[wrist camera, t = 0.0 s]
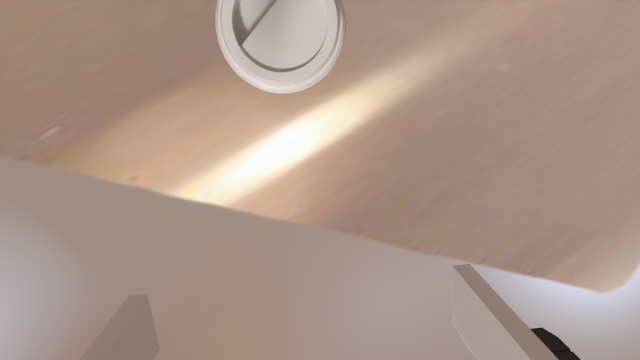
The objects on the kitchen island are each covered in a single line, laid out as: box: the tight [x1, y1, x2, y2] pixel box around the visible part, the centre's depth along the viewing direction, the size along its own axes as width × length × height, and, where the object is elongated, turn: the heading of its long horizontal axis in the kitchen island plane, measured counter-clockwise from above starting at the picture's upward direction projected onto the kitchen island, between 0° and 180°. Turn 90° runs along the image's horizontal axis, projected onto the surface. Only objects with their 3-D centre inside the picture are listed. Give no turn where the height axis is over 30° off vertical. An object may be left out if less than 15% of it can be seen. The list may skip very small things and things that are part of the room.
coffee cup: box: [215, 0, 346, 93], centre depth 31 cm, size 10×10×15 cm
